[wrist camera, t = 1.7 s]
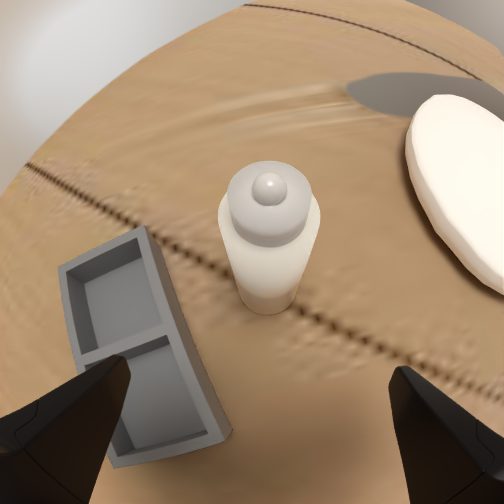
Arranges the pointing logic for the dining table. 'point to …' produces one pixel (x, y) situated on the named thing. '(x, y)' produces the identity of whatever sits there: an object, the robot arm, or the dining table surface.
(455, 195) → the plate
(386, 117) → the dining table surface
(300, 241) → the salt mill
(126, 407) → the condiment caddy
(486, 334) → the dining table surface
